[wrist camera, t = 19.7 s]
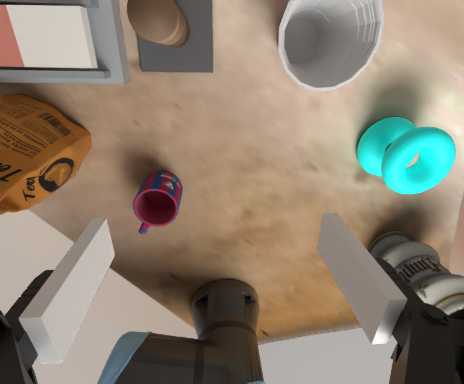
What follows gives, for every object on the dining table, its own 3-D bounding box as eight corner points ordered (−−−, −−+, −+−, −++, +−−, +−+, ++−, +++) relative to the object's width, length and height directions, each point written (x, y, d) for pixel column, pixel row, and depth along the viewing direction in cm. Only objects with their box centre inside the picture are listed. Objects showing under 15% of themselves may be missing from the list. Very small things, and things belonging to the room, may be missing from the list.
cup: (189, 184, 46) (186, 203, 40) (159, 224, 49) (152, 247, 43) (156, 163, 44) (147, 180, 38) (127, 206, 47) (114, 227, 41)
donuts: (376, 190, 38) (413, 121, 33) (344, 165, 46) (370, 109, 42) (434, 203, 39) (476, 138, 35) (393, 176, 48) (422, 123, 44)
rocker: (86, 8, 29) (79, 6, 28) (97, 67, 32) (91, 68, 31) (-55, 6, 30) (-68, 3, 28) (-32, 65, 32) (-43, 65, 31)
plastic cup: (245, 57, 38) (258, 56, 27) (288, -24, 34) (324, -63, 23) (304, 97, 41) (337, 111, 30) (350, 27, 37) (407, 13, 26)
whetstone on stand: (130, 82, 38) (118, 85, 33) (-18, 80, 36) (-53, 83, 32) (117, -3, 33) (101, -14, 29) (-51, -9, 32) (-98, -21, 27)
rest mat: (213, 72, 38) (213, 72, 38) (142, 71, 37) (141, 71, 37) (211, -14, 34) (211, -15, 33) (132, -17, 33) (130, -18, 32)
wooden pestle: (190, 47, 36) (178, 42, 23) (160, 46, 36) (131, 41, 22) (188, 12, 34) (174, -16, 21) (157, 11, 34) (123, -18, 21)
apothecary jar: (421, 256, 58) (502, 332, 42) (368, 278, 60) (427, 359, 44) (411, 216, 53) (500, 285, 36) (354, 242, 54) (414, 317, 38)
